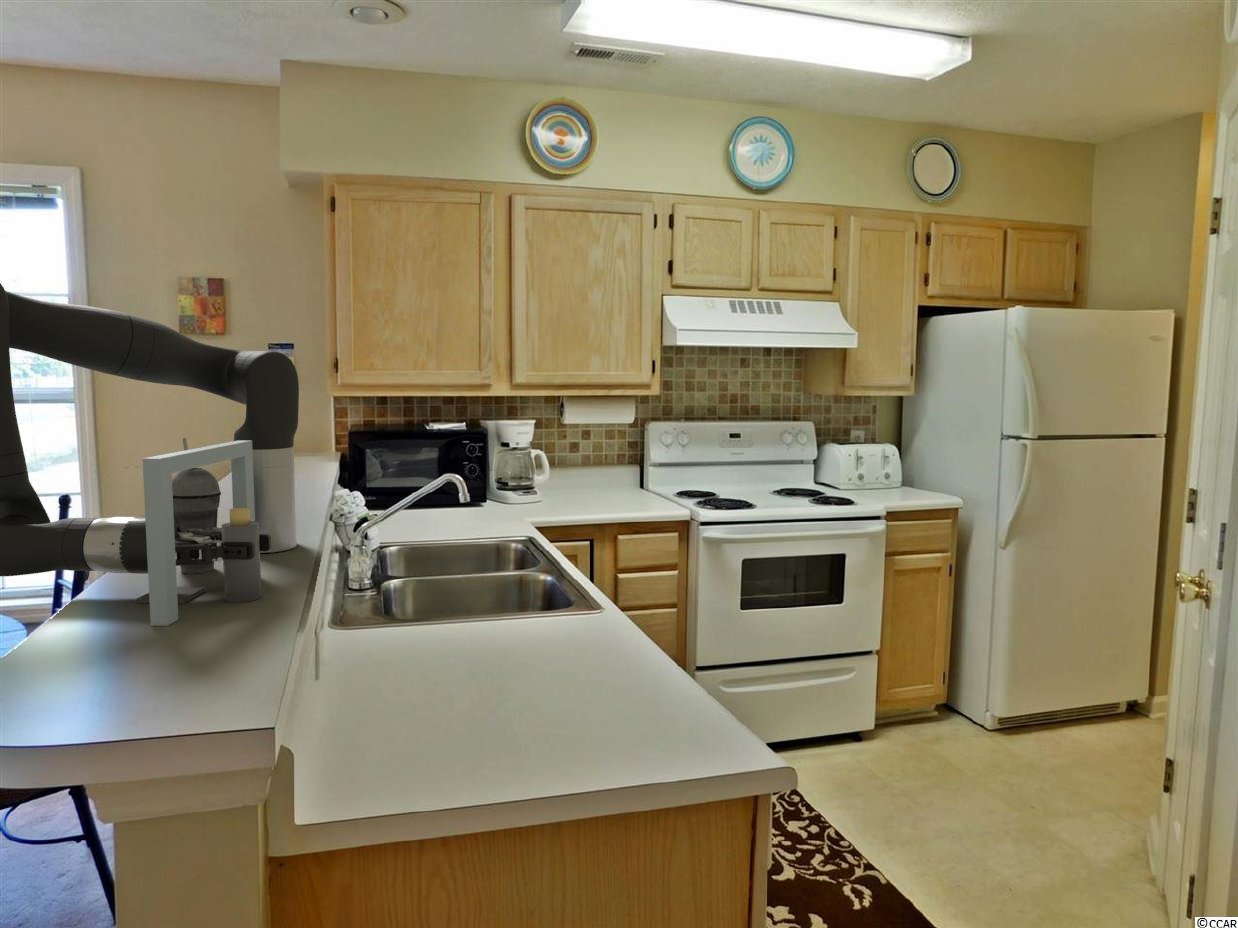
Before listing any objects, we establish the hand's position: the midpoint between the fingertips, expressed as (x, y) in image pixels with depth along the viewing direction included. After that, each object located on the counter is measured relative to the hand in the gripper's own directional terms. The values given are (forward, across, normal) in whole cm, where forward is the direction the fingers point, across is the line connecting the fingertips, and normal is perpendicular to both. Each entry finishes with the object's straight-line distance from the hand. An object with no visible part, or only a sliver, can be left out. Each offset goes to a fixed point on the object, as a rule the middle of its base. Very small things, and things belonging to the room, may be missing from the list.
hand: (261, 546), depth 113 cm
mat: (-12, 0, +7) cm, 14 cm away
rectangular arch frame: (-7, 0, +7) cm, 10 cm away
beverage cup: (-16, +15, +7) cm, 23 cm away
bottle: (-3, 0, +7) cm, 8 cm away
